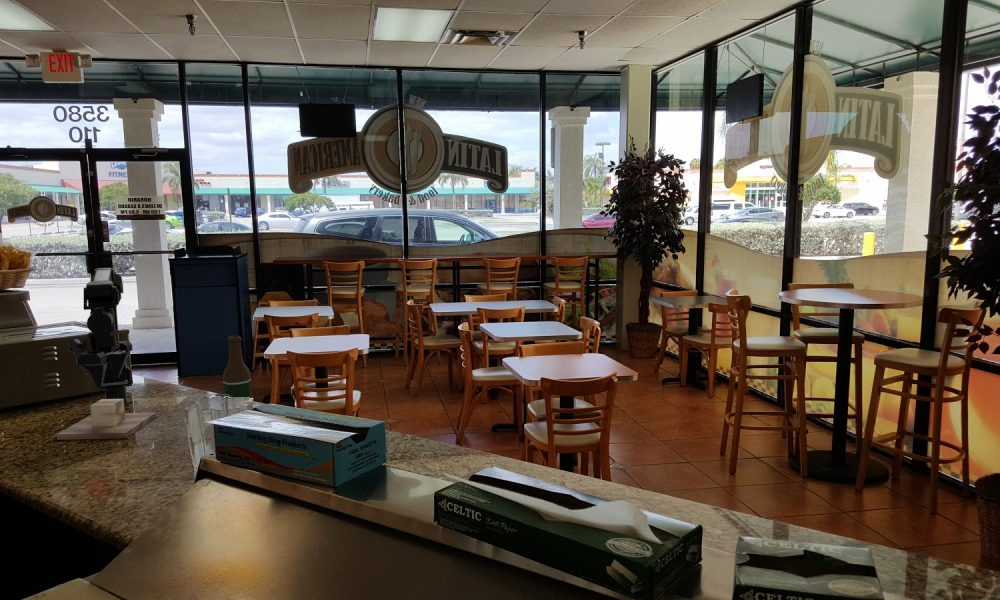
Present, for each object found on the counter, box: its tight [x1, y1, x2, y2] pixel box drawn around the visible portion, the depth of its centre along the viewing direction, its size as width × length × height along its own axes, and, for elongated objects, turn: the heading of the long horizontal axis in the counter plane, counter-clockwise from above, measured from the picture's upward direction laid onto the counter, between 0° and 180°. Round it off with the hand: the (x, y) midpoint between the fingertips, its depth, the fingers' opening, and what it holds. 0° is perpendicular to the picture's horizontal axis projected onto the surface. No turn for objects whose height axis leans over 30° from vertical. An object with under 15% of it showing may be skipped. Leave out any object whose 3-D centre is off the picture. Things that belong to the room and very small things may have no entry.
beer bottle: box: [222, 335, 253, 399], centre depth 200 cm, size 8×8×24 cm
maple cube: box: [90, 398, 126, 426], centre depth 190 cm, size 6×6×6 cm
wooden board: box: [56, 412, 157, 441], centre depth 191 cm, size 18×18×2 cm
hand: (108, 382), depth 190 cm, fingers open, 9 cm apart
